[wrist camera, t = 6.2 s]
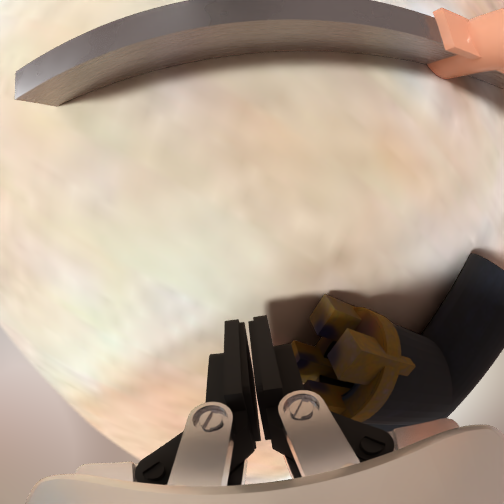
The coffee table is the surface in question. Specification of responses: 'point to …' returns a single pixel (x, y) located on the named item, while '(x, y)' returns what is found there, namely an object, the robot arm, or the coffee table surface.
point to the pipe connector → (406, 353)
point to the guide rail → (263, 41)
